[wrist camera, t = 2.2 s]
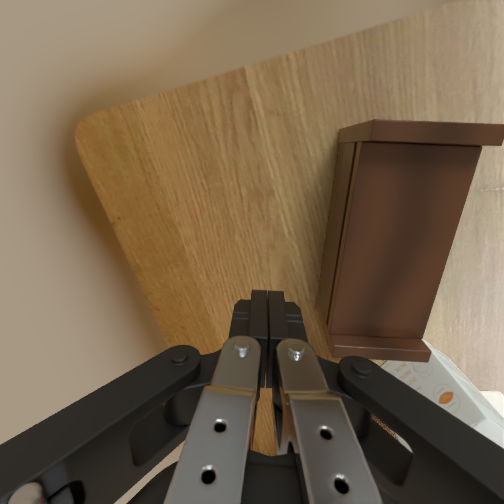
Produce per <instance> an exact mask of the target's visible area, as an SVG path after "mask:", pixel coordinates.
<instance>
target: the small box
mask: <svg viewBox="0 0 504 504" xmlns="http://www.w3.org/2000/svg"><path fill="white" fill-rule="evenodd" d="M422 340H423V341H424V343H425V344H426V345H427V346H428V347H429V349H430V350H431V351H432V353H431V356H430V359H429V362H428V363H424V362H408V361H392V360H388V361H386V362H385V363H384V364H383V365H382V366H381V368H383V369H384V370H386V371H387V372H389V373H390V374H392V375H393V376H395V377H396V378H398V379H399V380H401V381H402V382H404V383H405V384H407V385H408V386H410V387H411V388H413V389H414V390H416V391H417V392H419V393H420V394H422V395H423V396H425V397H427V398H428V399H430V400H431V401H433V402H434V403H436V404H437V405H439V406H440V407H442V408H443V409H445V410H446V411H448V412H449V413H451V414H452V415H454V416H455V417H457V418H458V419H460V420H461V421H463V422H464V423H466V424H467V425H469V426H470V427H472V428H473V429H475V430H476V431H478V432H479V433H481V434H482V435H484V436H485V437H487V438H489V439H490V440H492V441H493V442H495V443H496V444H498V445H499V446H501V447H502V448H504V418H503V417H502V416H501V415H500V414H499V413H498V411H497V410H496V409H495V408H494V407H493V406H492V405H491V404H490V403H489V401H488V400H487V399H486V398H485V397H484V396H483V395H482V394H481V393H480V392H479V390H478V389H477V388H476V387H475V386H474V385H473V384H472V383H471V382H470V381H469V379H468V378H467V377H466V376H465V375H464V374H463V373H462V372H461V371H460V369H459V368H458V367H457V366H456V365H455V364H454V363H453V362H452V361H451V360H450V359H449V358H448V357H447V356H445V355H444V354H443V353H441V352H440V351H439V350H437V349H436V348H435V347H433V346H432V345H430V344H429V343H428V342H426V341H425V340H424V339H422ZM394 433H395V432H394ZM395 435H396V437H397V439H398V441H399V442H400V443H401V444H402V445H404V446H405V447H406V448H407V449H408V450H410V451H411V452H412V450H411V448H410V447H409V445H408V444H407V442H406V441H405V440H404V439H402V438H401V437H400V436H399V435H398V434H396V433H395Z"/></svg>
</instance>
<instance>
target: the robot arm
mask: <svg viewBox="0 0 504 504" xmlns="http://www.w3.org/2000/svg"><path fill="white" fill-rule="evenodd" d="M265 373H266V388H272V416H273V425H274V433H275V442H276V451H277V456H266V455H264V454H261V453H258V452H255V451H253V442H254V432H255V423H256V414H257V404H258V401H259V398H260V388H264V387H265ZM374 416H376V417H377V418H378V419H379V420H380V421H382V422H383V423H384V424H385V425H387V426H388V427H389V428H390V429H391V430H393V431H394V432H395V433H396V434H398V435H399V436H400V437H401V438H402V439H404V440H405V441H406V442H407V444H408V445H409V447H410V448H411V450H412V452H411V451H410V450H408V449H407V448H406V447H405V446H404V445H402V444H401V443H400V442H399V441H398V440H396V439H395V438H394V437H393V436H392V435H390V434H389V433H388V432H387V431H386V430H384V429H383V428H382V427H381V426H380V425H378V424H377V423H376V422H375V421H374V420H373V418H374ZM185 439H186V440H185ZM184 440H185V443H184V446H183V449H182V451H181V454H180V457H179V460H178V461H177V462H175V463H173V464H171V465H170V466H168V467H166V468H165V469H163V470H162V471H161V472H160V473H158V474H157V475H156V476H155V477H154V478H153V479H151V480H150V481H149V482H148V483H147V484H146V485H145V486H144V487H143V488H142V489H141V490H140V491H139V492H138V493H137V494H136V495H135V496H134V497H133V498H132V499H131V500H130V501H129V502H128V503H127V504H504V448H502V447H501V446H499V445H498V444H496V443H495V442H493V441H492V440H490V439H489V438H487V437H485V436H484V435H482V434H481V433H479V432H478V431H476V430H475V429H473V428H472V427H470V426H469V425H467V424H466V423H464V422H463V421H461V420H460V419H458V418H457V417H455V416H454V415H452V414H451V413H449V412H448V411H446V410H445V409H443V408H442V407H440V406H439V405H437V404H436V403H434V402H433V401H431V400H430V399H428V398H427V397H425V396H423V395H422V394H420V393H419V392H417V391H416V390H414V389H413V388H411V387H410V386H408V385H407V384H405V383H404V382H402V381H401V380H399V379H398V378H396V377H395V376H393V375H392V374H390V373H389V372H387V371H386V370H384V369H383V368H381V367H380V366H378V365H377V364H375V363H374V362H372V361H370V360H368V359H366V358H363V357H360V356H347V357H344V358H343V359H342V360H341V361H340V363H339V364H338V363H334V362H331V361H328V360H325V359H323V358H321V357H319V356H317V355H316V353H315V350H314V348H313V347H312V346H311V345H310V344H308V340H307V336H306V331H305V327H304V323H303V319H302V314H301V310H300V308H299V307H298V306H297V305H296V304H295V303H294V302H285V299H284V292H283V291H268V297H267V290H252V294H251V300H243V299H240V300H239V301H238V302H237V303H236V304H235V306H234V311H233V316H232V322H231V327H230V332H229V338H228V340H226V341H225V343H224V344H223V347H222V349H220V350H219V351H217V352H214V353H210V354H205V355H200V353H199V351H198V350H197V349H196V348H194V347H192V346H189V345H178V346H174V347H171V348H169V349H167V350H165V351H164V352H162V353H160V354H158V355H157V356H155V357H153V358H151V359H150V360H148V361H146V362H144V363H143V364H141V365H139V366H137V367H136V368H134V369H132V370H131V371H129V372H127V373H125V374H123V375H122V376H120V377H119V378H116V379H115V380H113V381H111V382H110V383H108V384H106V385H104V386H102V387H101V388H99V389H97V390H95V391H94V392H92V393H90V394H88V395H87V396H85V397H83V398H81V399H80V400H78V401H76V402H74V403H73V404H71V405H69V406H68V407H66V408H64V409H62V410H61V411H59V412H57V413H55V414H54V415H52V416H50V417H48V418H47V419H45V420H43V421H41V422H40V423H38V424H36V425H34V426H33V427H31V428H29V429H28V430H26V431H24V432H22V433H20V434H19V435H17V436H15V437H13V438H12V439H10V440H8V441H6V442H5V443H3V444H1V445H0V504H114V503H115V502H116V501H117V500H118V499H119V498H120V497H121V496H123V495H124V494H125V493H126V492H127V491H128V490H129V489H131V488H132V487H133V486H134V485H135V484H136V483H137V482H138V481H139V480H141V479H142V478H143V477H144V476H145V475H146V474H147V473H148V472H150V471H151V470H152V469H153V468H154V467H155V466H156V465H157V464H158V463H159V462H161V461H162V460H163V459H164V458H165V457H166V456H167V455H168V454H169V453H171V452H172V451H173V450H174V449H175V448H176V447H177V446H179V444H181V443H182V442H183V441H184ZM374 480H375V481H374Z"/></svg>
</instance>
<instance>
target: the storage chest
mask: <svg viewBox="0 0 504 504" xmlns="http://www.w3.org/2000/svg"><path fill="white" fill-rule="evenodd" d="M503 140H504V124H484V123H458V122H432V121H406V120H380V119H374V120H370V121H367V122H363V123H360V124H356V125H352V126H349V127H345V128H342V129H340V131H339V138H338V144H339V148H338V155H337V162H336V169H335V177H334V184H333V191H332V198H331V205H330V212H329V219H328V226H327V233H326V240H325V248H324V255H323V262H322V269H321V276H320V283H319V290H318V297H317V298H316V304H315V307H316V310H317V313H318V316H319V319H320V322H321V325H322V328H323V331H324V334H325V337H326V340H327V343H328V346H329V349H330V352H331V355H332V357H343V358H344V357H347V356H360V357H363V358H366V359H375V360H392V361H408V362H424V363H428V362H429V359H430V356H431V353H432V351H431V350H430V349H429V347H428V346H427V345H426V344H425V343H424V341H423V340H422V338H423V335H424V332H425V329H426V325H427V322H428V319H429V316H430V313H431V310H432V306H433V303H434V300H435V297H436V294H437V290H438V287H439V284H440V281H441V278H442V275H443V271H444V268H445V265H446V262H447V259H448V255H449V252H450V249H451V246H452V243H453V239H454V236H455V233H456V230H457V227H458V224H459V220H460V217H461V214H462V211H463V208H464V204H465V201H466V198H467V195H468V192H469V189H470V185H471V182H472V179H473V176H474V173H475V169H476V166H477V163H478V160H479V157H480V153H481V150H482V147H481V146H501V145H502V143H503Z"/></svg>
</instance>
